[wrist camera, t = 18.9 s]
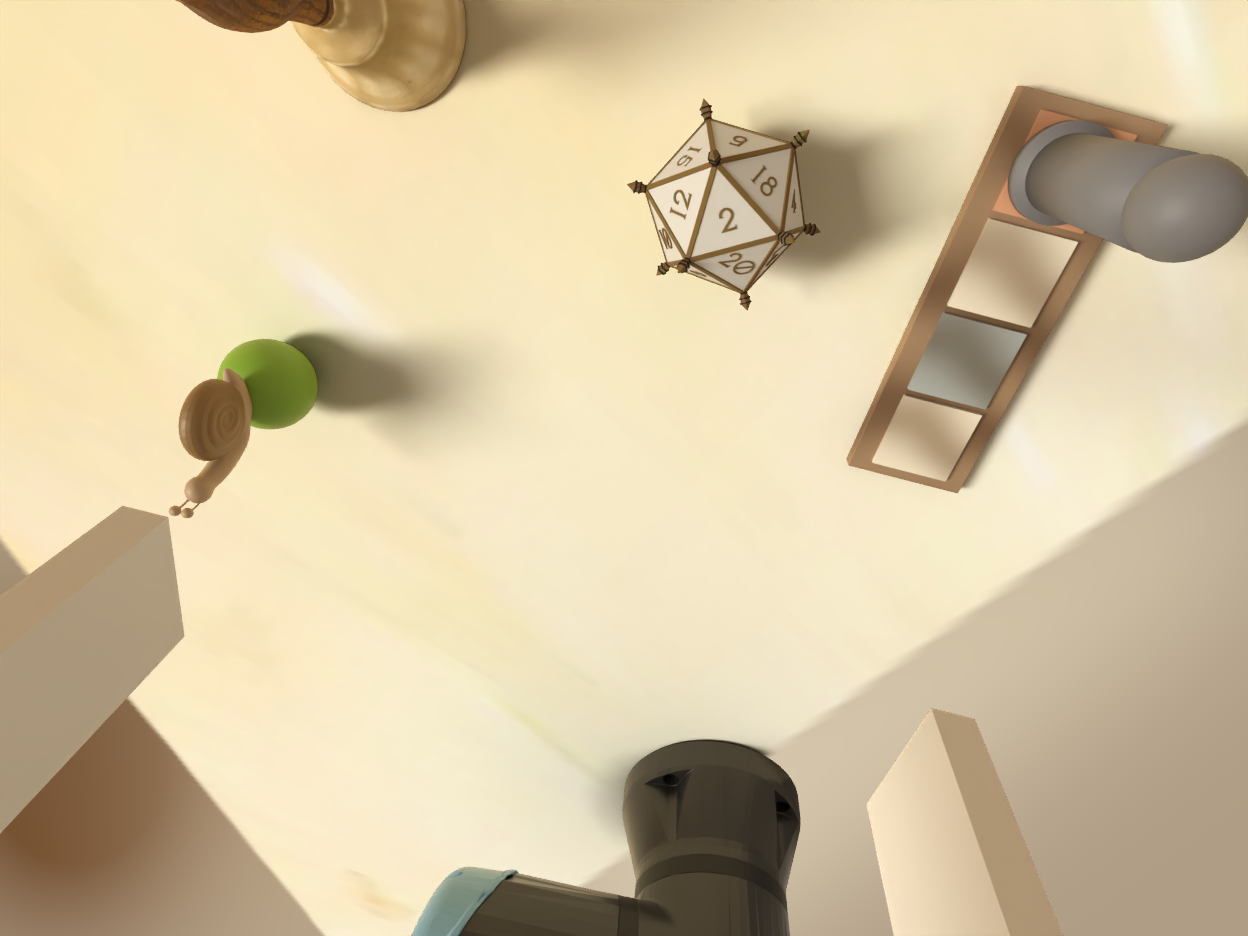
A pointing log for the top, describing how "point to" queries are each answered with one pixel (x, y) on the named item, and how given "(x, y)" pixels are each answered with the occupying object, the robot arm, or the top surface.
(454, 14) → the hand bell
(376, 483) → the top surface
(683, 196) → the game die
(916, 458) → the track
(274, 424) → the snail figurine
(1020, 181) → the pawn
